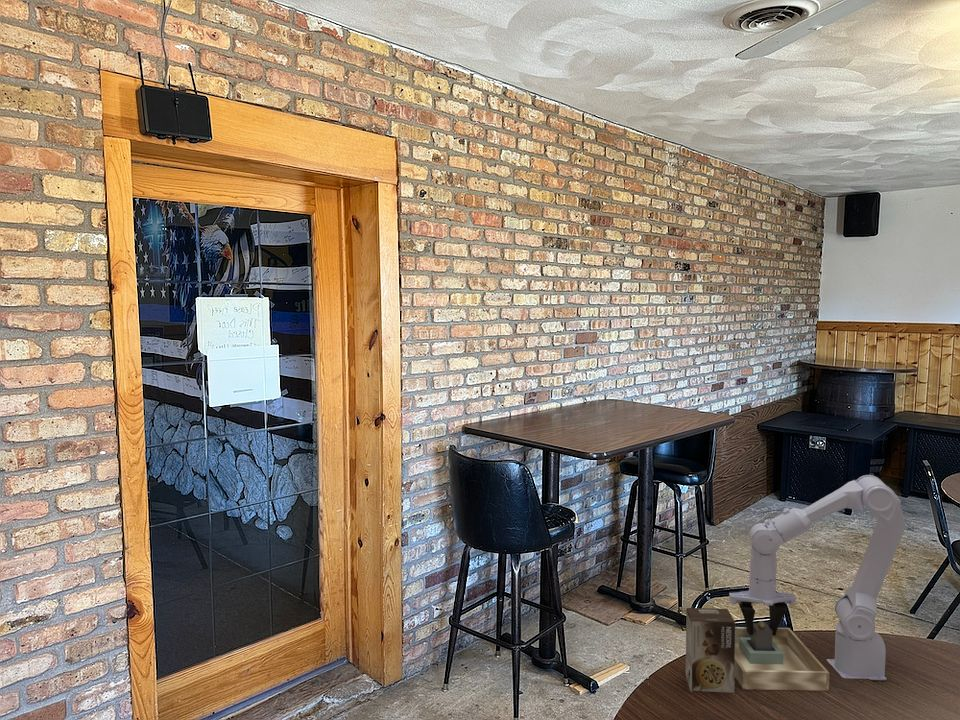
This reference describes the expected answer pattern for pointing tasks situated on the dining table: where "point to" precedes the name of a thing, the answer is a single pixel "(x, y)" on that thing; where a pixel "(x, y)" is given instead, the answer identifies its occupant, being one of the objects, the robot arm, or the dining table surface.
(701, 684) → the coffee box
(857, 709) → the dining table surface
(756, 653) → the socket
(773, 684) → the walled box
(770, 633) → the plug
